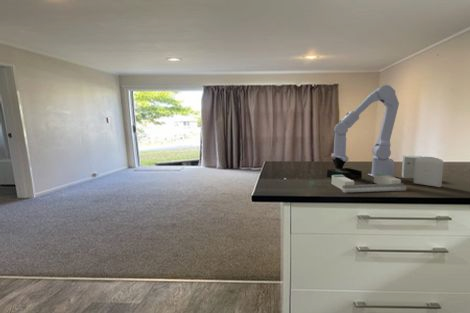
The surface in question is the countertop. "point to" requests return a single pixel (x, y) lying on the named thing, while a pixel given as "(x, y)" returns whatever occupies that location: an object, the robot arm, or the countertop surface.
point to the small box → (408, 166)
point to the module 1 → (341, 181)
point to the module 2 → (385, 179)
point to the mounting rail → (373, 187)
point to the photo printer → (428, 171)
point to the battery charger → (345, 173)
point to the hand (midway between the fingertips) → (338, 172)
